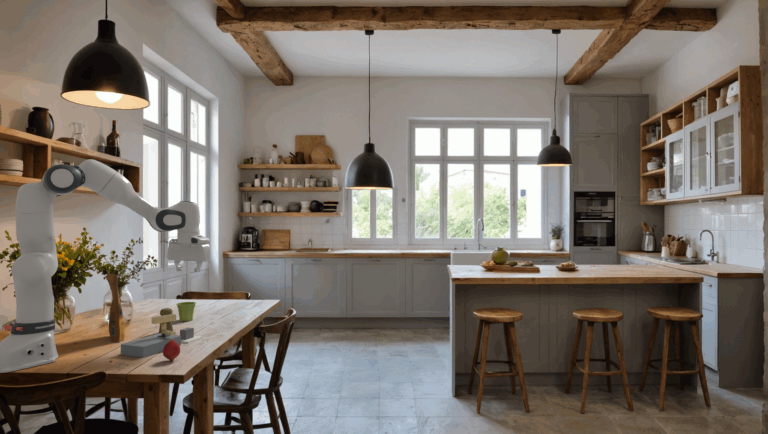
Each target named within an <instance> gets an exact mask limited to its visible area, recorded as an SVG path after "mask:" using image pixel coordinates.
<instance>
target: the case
mask: <svg viewBox="0 0 768 434" xmlns="http://www.w3.org/2000/svg"><path fill="white" fill-rule="evenodd" d="M171 339H174V341H175V342H176V343H178V344H179V346H180V347H181V346H182V343H181V336H180V334H176V335H172V336H170V335H167V334H166V335H161V333H159V332H158V333H156V334H153V335H149V336H146V337H142V338H138V339H133V340H130V341H128V342H123V343H120V355H121V356H128V357H134V358H142V359H144V358H146V357H147V358H148V357H150V356H153V355H156V354H159V353H161V352H162V353H163V348H164V346H165V345H166V344H167V343H168V342H169V341H170V340H171Z"/></svg>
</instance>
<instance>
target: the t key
mask: <svg viewBox="0 0 768 434" xmlns="http://www.w3.org/2000/svg"><path fill="white" fill-rule="evenodd" d="M170 321H172V322H176V321H177V314H175V313H172V314H170V315H163V316H161V315H158V316H152V317H151V324H153V325H157V324H158V325H160V323H162V325H161V335H166V334H167V335H170V336H172V335H177V334H176V331H174V330H173V331H169V330H166V322H170Z"/></svg>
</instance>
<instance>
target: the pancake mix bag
mask: <svg viewBox="0 0 768 434" xmlns="http://www.w3.org/2000/svg"><path fill="white" fill-rule="evenodd" d="M105 277H106V280H107V283H108V286H109V288H110V291H111V294H112V296H111V297H112V300H111V304H110V309H109V314H108V316H109V317H108V333H109V337H110V341H111V342H113V343H120V342H122V341H125V337H126V336H125V335H126V329H125V328H126V327H125V320H124V314H123V307H122V302H121V299H120V294H119V289H118V281H119V280H118V279H119V277H118V275H116V274H114V273H110V272H108V273H107V274H106V275H105Z"/></svg>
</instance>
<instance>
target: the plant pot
mask: <svg viewBox="0 0 768 434" xmlns="http://www.w3.org/2000/svg"><path fill="white" fill-rule="evenodd" d="M196 304H197V302H195V301H184V302H183V301H182V302H177V303H176V307H177V310H178V317H179V321H180V322H191V321H193V319H194V312H195V307H196Z"/></svg>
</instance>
